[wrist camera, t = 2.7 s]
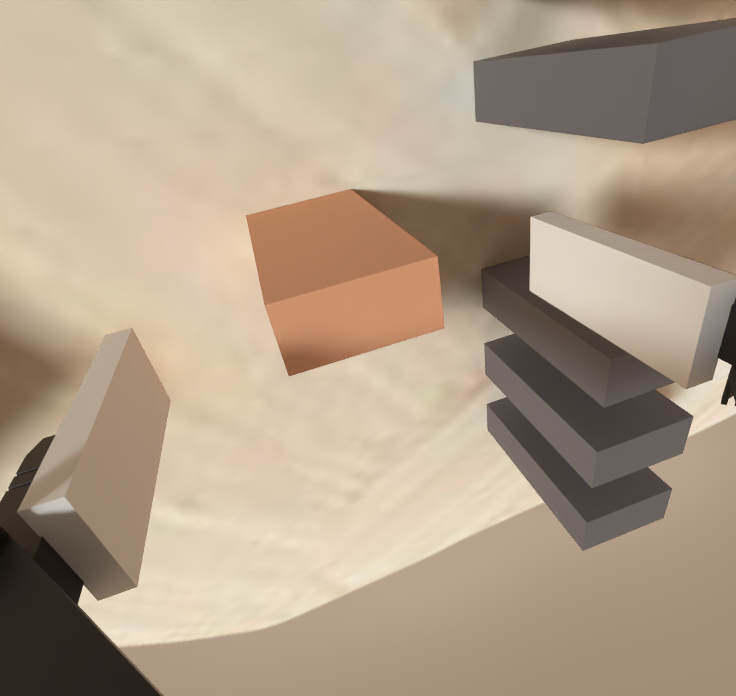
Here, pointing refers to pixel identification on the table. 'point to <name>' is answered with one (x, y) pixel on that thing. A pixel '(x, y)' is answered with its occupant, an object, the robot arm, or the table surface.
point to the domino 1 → (342, 279)
